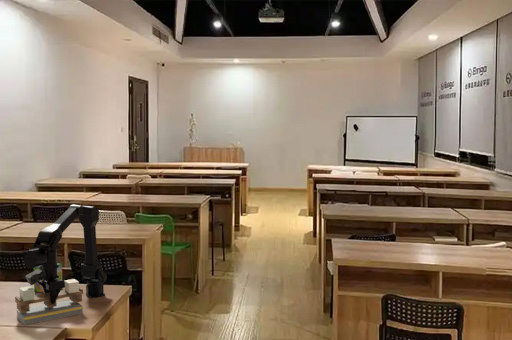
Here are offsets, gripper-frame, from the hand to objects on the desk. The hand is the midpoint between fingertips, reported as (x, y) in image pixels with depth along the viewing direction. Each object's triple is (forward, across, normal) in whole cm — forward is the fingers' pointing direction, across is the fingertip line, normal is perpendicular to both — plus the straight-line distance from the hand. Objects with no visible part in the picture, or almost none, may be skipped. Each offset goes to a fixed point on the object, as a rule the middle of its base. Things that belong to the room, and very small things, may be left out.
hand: (50, 301), depth 214 cm
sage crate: (-3, 0, -9) cm, 9 cm away
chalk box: (+6, -35, +10) cm, 37 cm away
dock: (+5, 0, 0) cm, 5 cm away
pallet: (+1, 0, 0) cm, 1 cm away
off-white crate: (-3, 0, +8) cm, 9 cm away
